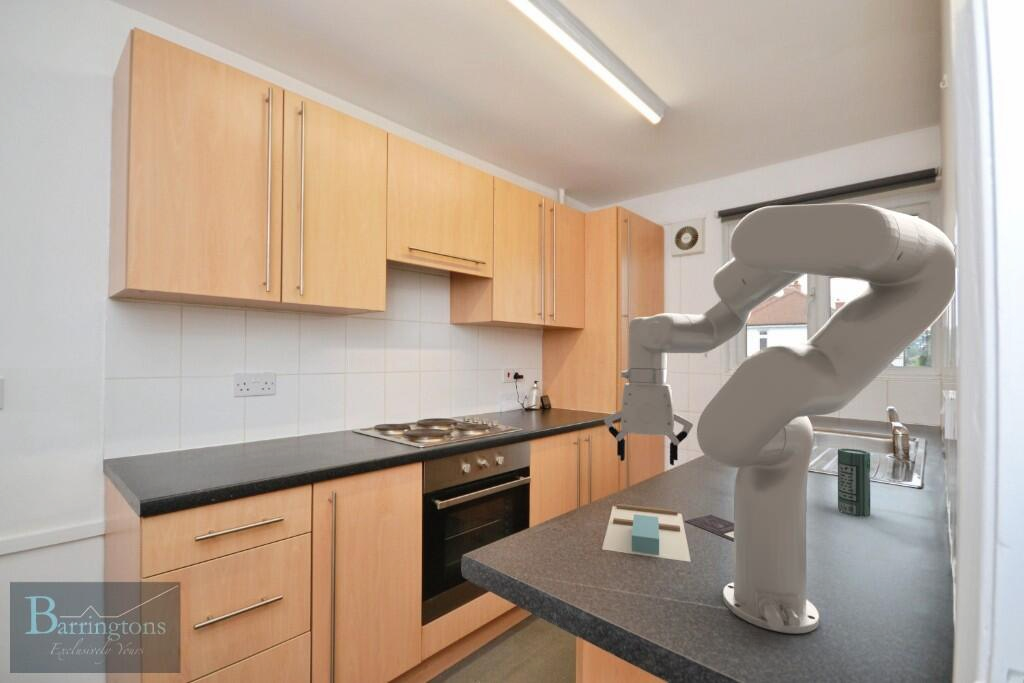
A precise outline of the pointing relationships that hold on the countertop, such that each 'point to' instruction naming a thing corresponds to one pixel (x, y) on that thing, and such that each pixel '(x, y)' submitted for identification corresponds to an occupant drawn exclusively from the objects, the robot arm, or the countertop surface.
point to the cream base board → (669, 531)
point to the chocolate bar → (714, 526)
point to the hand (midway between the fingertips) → (646, 461)
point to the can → (854, 482)
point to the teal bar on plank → (645, 534)
